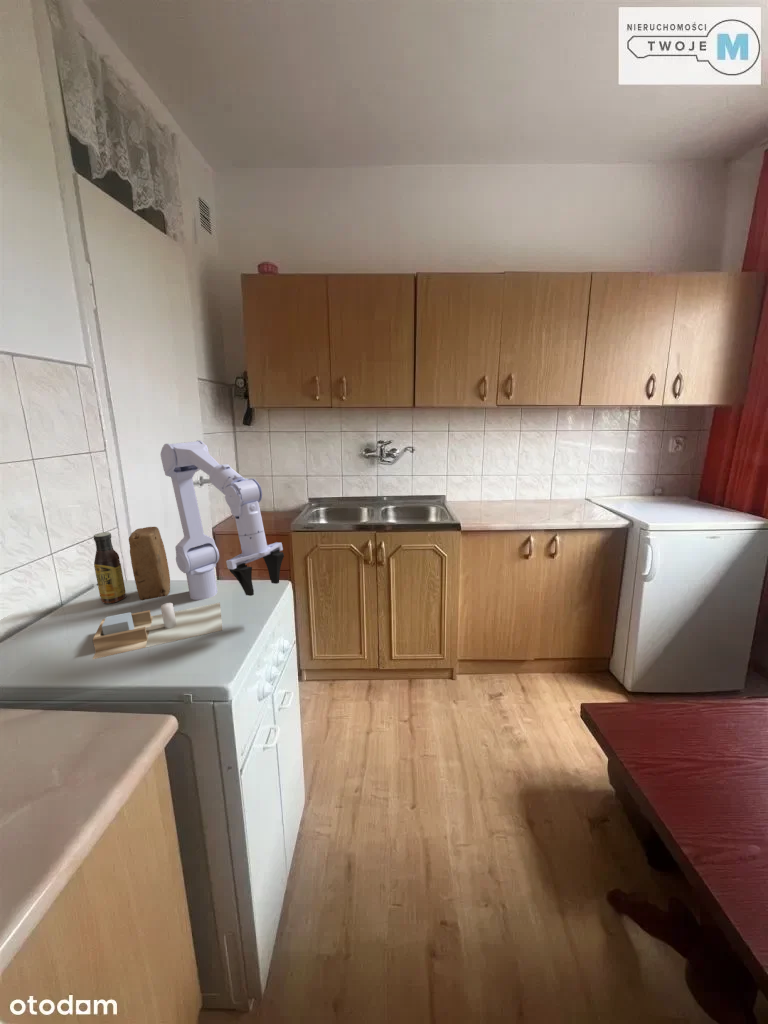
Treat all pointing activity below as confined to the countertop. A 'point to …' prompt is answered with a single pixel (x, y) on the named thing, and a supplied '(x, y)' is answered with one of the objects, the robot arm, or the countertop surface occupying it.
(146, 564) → the block
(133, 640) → the shelf lane
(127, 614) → the block
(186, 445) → the robot arm
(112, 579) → the sauce bottle
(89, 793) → the countertop surface
